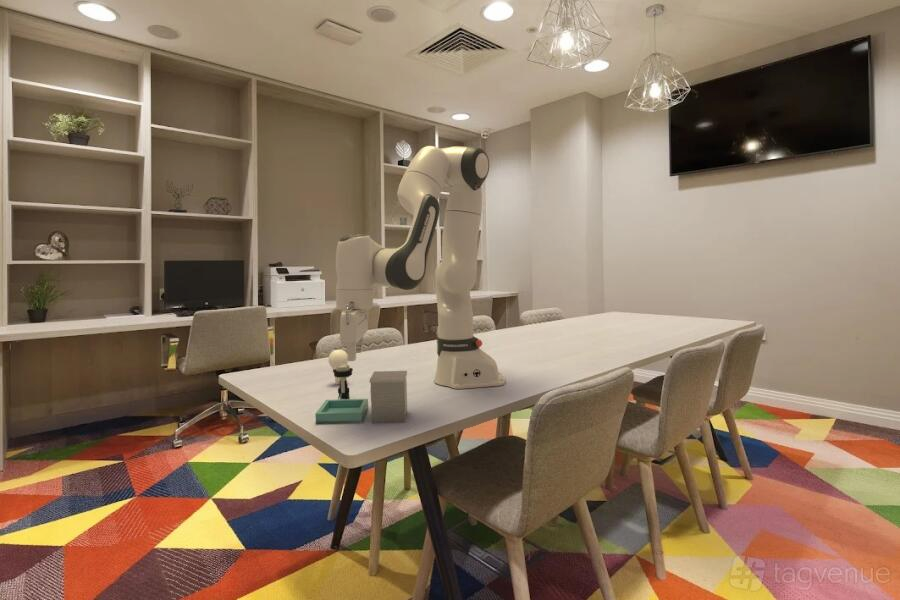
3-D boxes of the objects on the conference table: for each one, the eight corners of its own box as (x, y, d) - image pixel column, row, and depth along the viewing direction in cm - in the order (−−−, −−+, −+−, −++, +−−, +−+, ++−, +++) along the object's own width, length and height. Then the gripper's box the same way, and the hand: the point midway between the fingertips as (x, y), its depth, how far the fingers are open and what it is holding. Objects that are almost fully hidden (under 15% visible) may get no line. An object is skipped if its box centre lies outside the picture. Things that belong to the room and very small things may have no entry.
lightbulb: (351, 381, 151) (350, 347, 150) (345, 386, 145) (344, 351, 144) (333, 381, 151) (332, 347, 150) (326, 386, 145) (325, 351, 144)
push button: (352, 405, 126) (351, 369, 125) (332, 406, 126) (330, 370, 125) (354, 398, 133) (353, 363, 132) (335, 399, 132) (334, 364, 131)
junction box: (408, 410, 121) (407, 370, 120) (406, 422, 113) (404, 379, 112) (374, 411, 121) (373, 371, 120) (369, 423, 112) (368, 380, 111)
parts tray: (368, 407, 124) (367, 398, 124) (361, 422, 113) (361, 412, 113) (326, 409, 124) (326, 399, 123) (315, 423, 113) (315, 413, 112)
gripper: (361, 305, 104) (361, 366, 105) (373, 297, 125) (373, 348, 126) (332, 304, 104) (333, 366, 105) (349, 297, 124) (349, 348, 126)
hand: (355, 356), depth 116 cm, fingers open, 8 cm apart
